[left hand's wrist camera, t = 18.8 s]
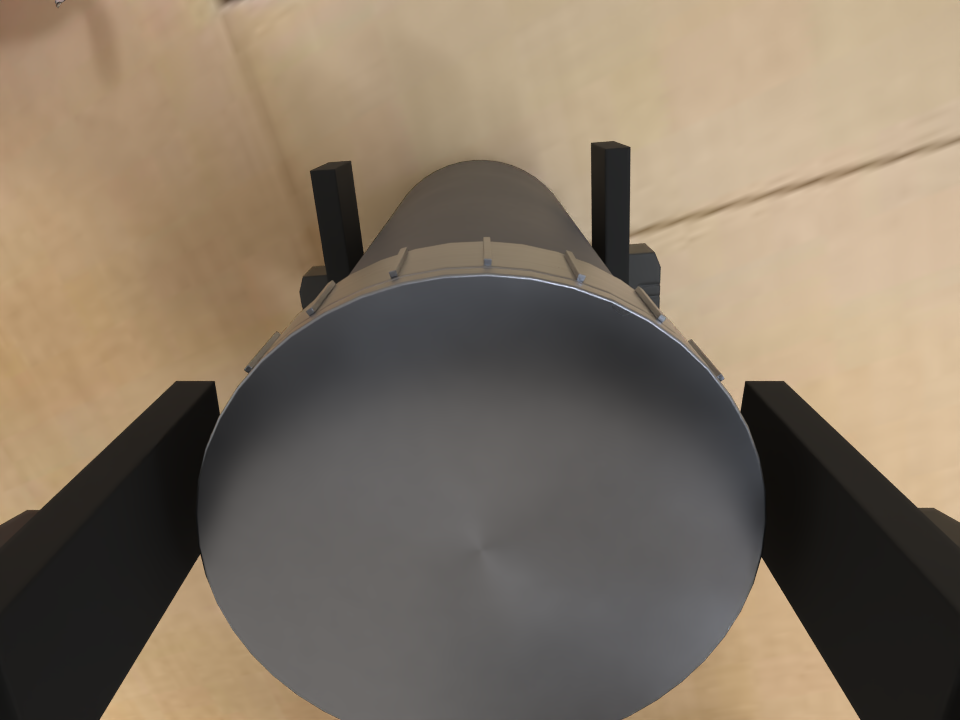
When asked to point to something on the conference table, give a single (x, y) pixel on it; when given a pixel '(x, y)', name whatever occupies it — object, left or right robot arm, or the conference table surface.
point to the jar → (480, 214)
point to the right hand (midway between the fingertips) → (469, 155)
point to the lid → (481, 494)
